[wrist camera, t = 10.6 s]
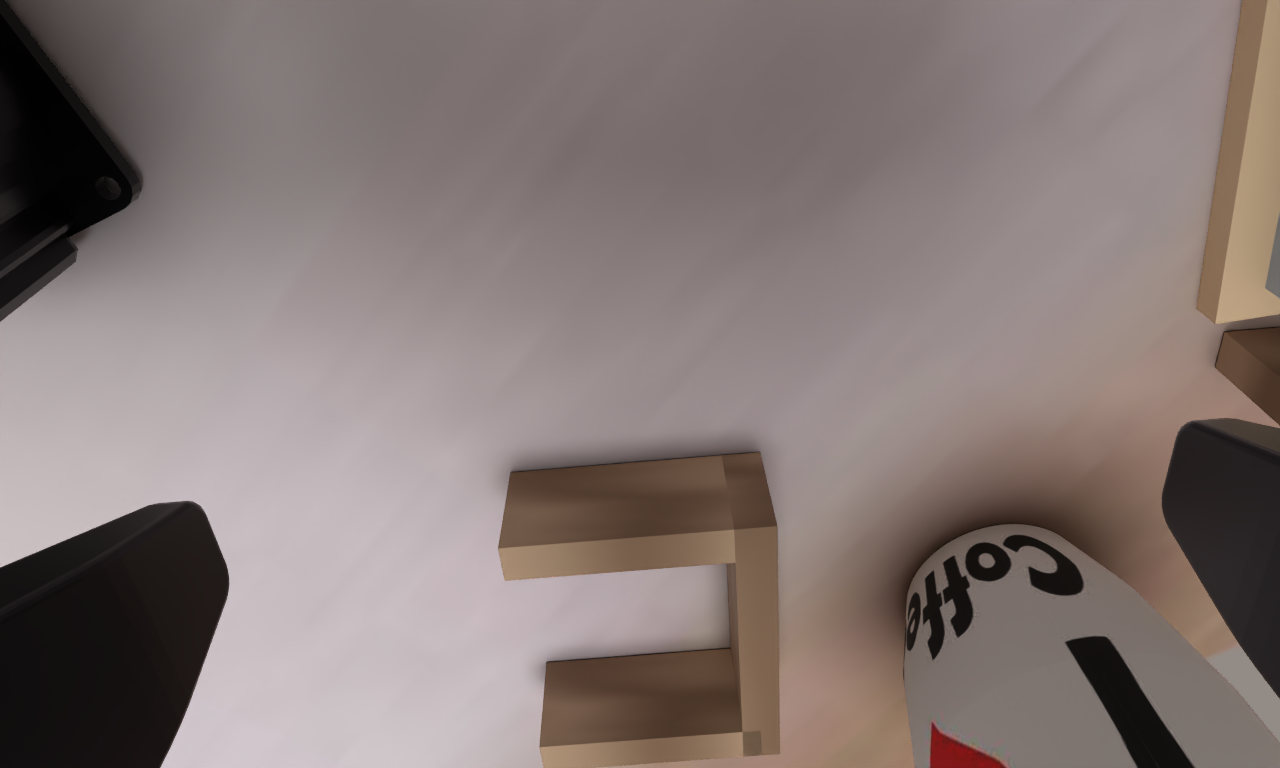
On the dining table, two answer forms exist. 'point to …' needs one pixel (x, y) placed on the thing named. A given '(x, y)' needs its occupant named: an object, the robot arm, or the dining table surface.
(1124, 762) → the cup
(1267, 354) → the bay
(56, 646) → the robot arm
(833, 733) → the dining table surface
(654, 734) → the narrow slot
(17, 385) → the dining table surface
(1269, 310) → the tea caddy
